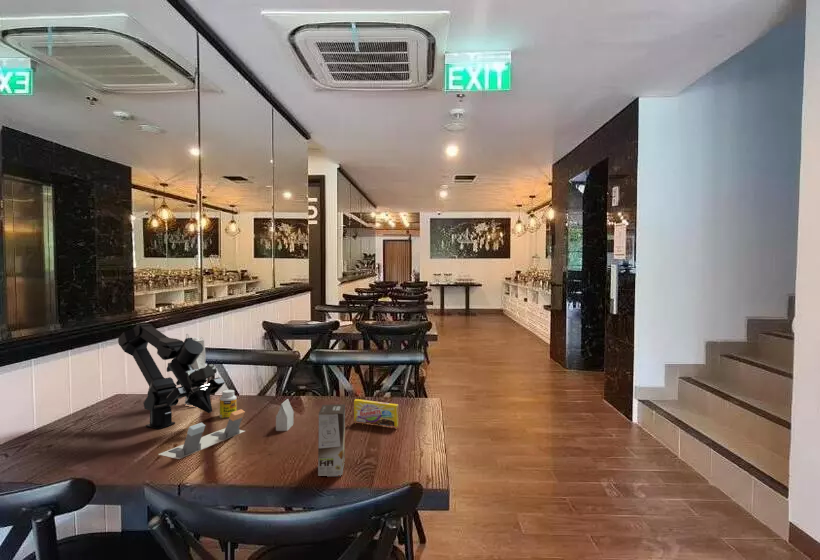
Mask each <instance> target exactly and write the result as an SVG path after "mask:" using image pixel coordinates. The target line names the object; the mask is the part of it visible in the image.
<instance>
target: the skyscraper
mask: <svg viewBox="0 0 820 560" xmlns="http://www.w3.org/2000/svg"><path fill="white" fill-rule="evenodd" d="M186 338H192V339H193V340H195V341H197V342H199V343H200V344H202V346H203V351H202V353H201V354H200V355H199V357H198V358H197V360H196V361H195V363H193V364H191V365H192V366H193V368H194V369H201V368H205V367H206V344H205V338H204V337H202V336H200V337H190V335H189V334H188V333H186V334H185V339H186ZM184 398H185V399H184V405H185V404H186V403H185V402H186V401H187V400H188V399H187V397H186V396H185V397H184ZM187 405H191V404H187Z"/></svg>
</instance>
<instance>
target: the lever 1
mask: <svg viewBox="0 0 820 560" xmlns="http://www.w3.org/2000/svg"><path fill="white" fill-rule="evenodd" d="M206 426H207V425H206V424H204V423H203V422H202V421H201V422H200V423H196V424H193V425H190V426H188V429H187V433H186V437H185V440H184V442H183V444H184V446H183V449H182V450H184V455H188V454H190V453H192V452H195V451H197V449H198V446H199V443H200V440H201V437H203V434H204V431H205V428H206ZM197 452H198V451H197ZM195 453H196V452H195ZM190 455H191V454H190ZM188 456H189V455H188Z"/></svg>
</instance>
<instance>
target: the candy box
mask: <svg viewBox="0 0 820 560" xmlns="http://www.w3.org/2000/svg"><path fill="white" fill-rule="evenodd" d="M353 418H354V421H357V422H364V423H371V424H378V425H386V426H395V427H397V426H398V427H399V404H398V403H390V402H383V401H377V400H376V401H374V400H367V399H359V398H356V399H354V400H353ZM354 421H353V422H354Z"/></svg>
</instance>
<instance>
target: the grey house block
mask: <svg viewBox="0 0 820 560" xmlns="http://www.w3.org/2000/svg"><path fill="white" fill-rule="evenodd" d="M294 414H295V413H294V409H293V406H292V405H291V402H290V400H289V398H287V399H285V400H284V401H283V402H282V403H281V404H280V406H279V409H278V412H277V414H276V415H275V431H276V432H288V431H289V430H290V429H291V428H292V427H293V425H294Z"/></svg>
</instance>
